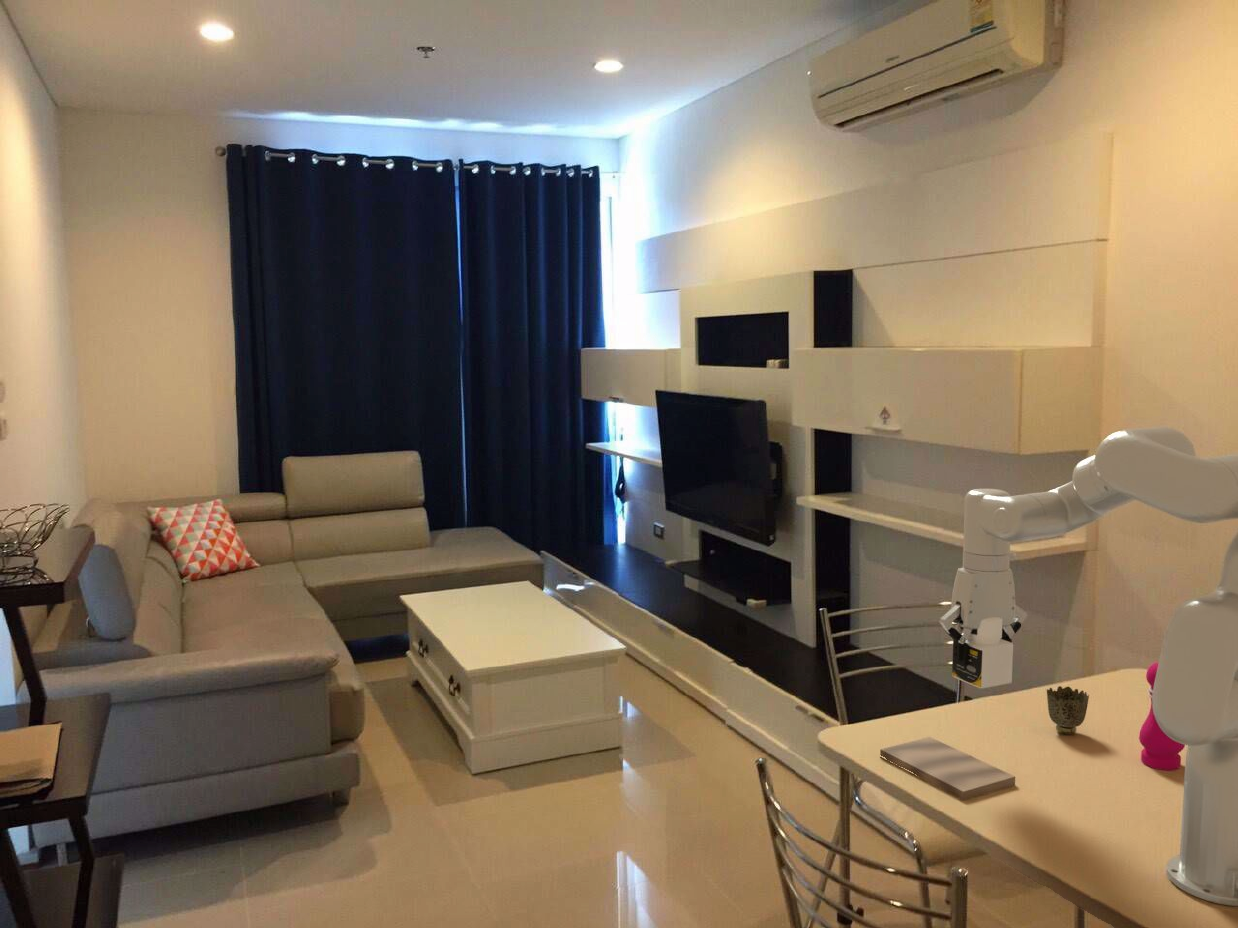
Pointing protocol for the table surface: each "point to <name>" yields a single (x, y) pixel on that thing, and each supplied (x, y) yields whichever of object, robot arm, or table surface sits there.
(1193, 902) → the table surface
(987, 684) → the medicine bottle
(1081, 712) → the cup
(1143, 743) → the pepper mill
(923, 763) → the walnut board
